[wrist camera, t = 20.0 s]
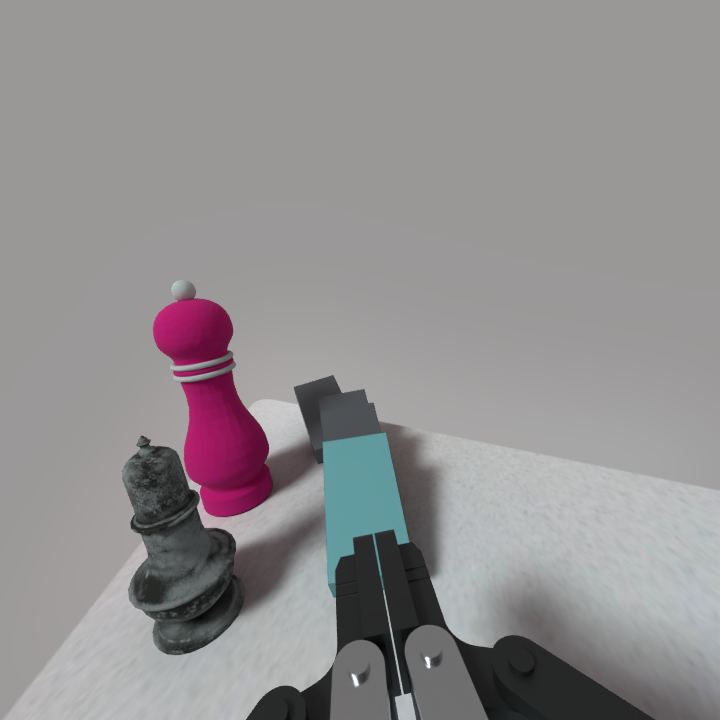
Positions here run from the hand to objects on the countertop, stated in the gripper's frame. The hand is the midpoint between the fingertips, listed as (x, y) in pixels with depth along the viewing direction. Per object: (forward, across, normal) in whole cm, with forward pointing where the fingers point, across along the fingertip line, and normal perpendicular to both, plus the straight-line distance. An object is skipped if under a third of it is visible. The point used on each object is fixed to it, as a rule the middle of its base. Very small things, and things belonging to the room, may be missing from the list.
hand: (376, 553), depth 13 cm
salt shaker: (+8, +11, +9) cm, 17 cm away
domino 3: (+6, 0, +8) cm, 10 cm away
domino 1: (+23, +2, +8) cm, 24 cm away
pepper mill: (+20, +12, +9) cm, 25 cm away
